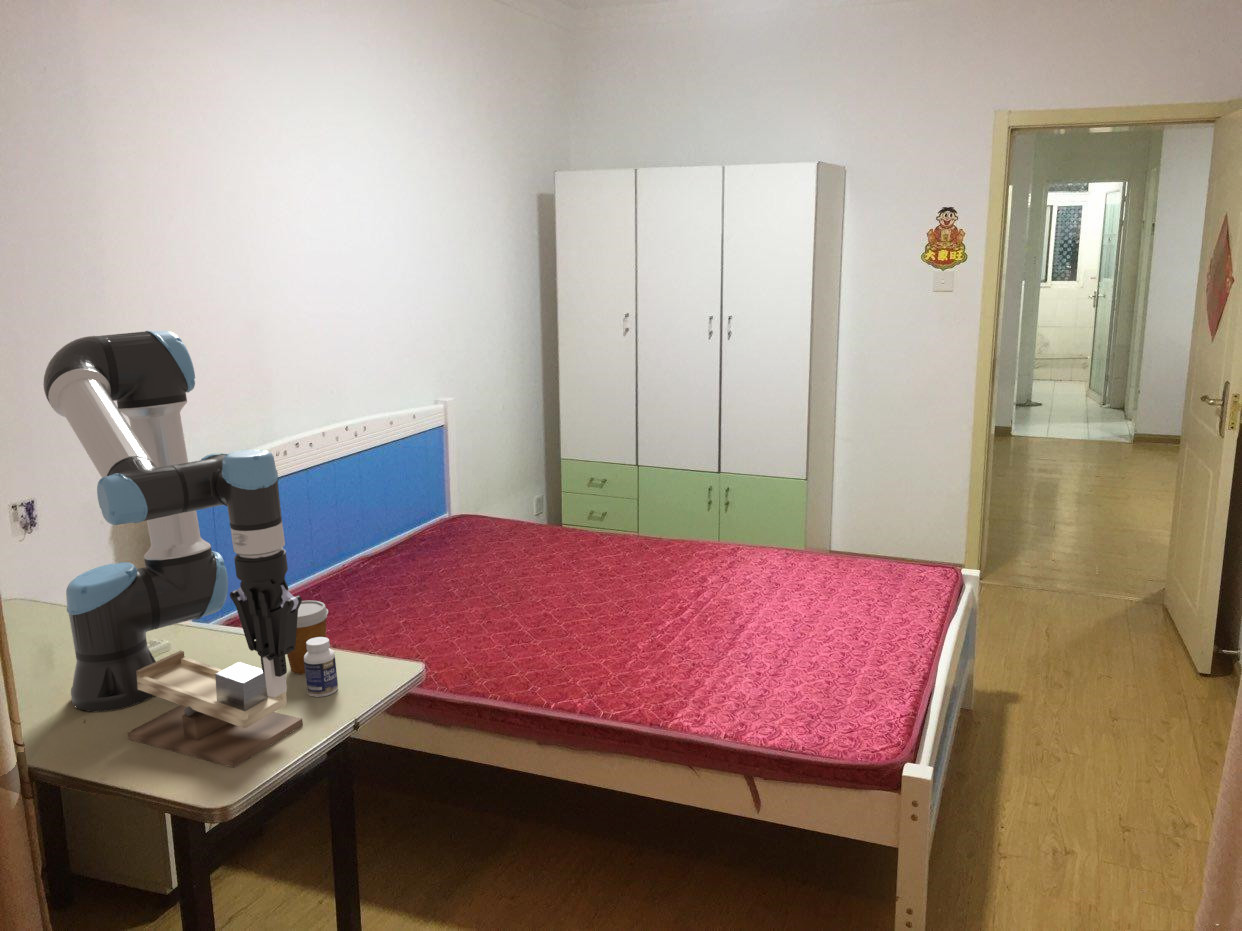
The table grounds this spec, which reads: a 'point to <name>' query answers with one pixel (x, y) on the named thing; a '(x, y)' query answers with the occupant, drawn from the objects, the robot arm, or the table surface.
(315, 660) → the pill bottle
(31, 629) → the table surface
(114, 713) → the table surface
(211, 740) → the stand
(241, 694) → the block
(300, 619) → the disposable coffee cup
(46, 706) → the table surface
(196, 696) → the balance beam
